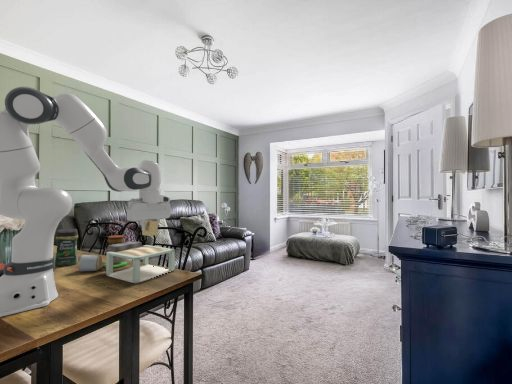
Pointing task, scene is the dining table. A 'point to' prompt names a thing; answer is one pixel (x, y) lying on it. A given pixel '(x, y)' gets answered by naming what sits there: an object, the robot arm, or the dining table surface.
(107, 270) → the frame
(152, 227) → the block
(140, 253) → the trapdoor plate
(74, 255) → the coffee jar
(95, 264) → the ceramic mug
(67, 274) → the dining table surface
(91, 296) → the dining table surface
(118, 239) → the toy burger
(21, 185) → the robot arm
